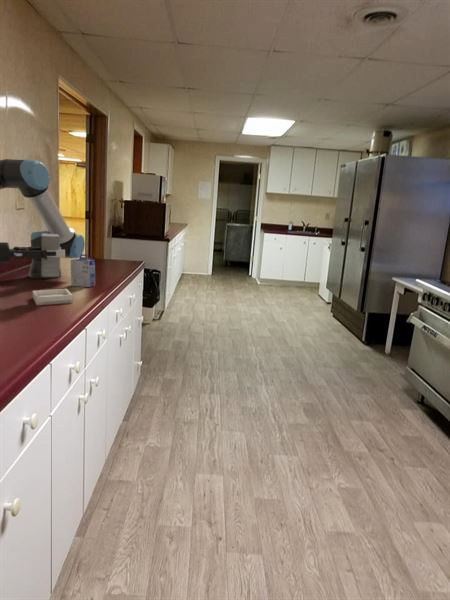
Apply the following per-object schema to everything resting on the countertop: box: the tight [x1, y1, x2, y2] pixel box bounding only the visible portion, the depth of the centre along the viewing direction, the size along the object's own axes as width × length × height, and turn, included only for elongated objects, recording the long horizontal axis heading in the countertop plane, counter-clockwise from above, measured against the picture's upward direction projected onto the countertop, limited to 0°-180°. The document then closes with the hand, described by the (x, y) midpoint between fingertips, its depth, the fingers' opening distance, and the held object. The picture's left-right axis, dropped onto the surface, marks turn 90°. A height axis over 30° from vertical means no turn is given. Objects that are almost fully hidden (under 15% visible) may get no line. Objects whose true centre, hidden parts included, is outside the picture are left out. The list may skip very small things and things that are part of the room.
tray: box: [32, 288, 74, 306], centre depth 168 cm, size 13×13×3 cm
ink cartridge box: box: [70, 253, 96, 288], centre depth 197 cm, size 10×6×14 cm, turn 78°
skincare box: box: [41, 233, 61, 278], centre depth 164 cm, size 8×7×16 cm
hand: (62, 251), depth 166 cm, fingers closed on skincare box, 8 cm apart
